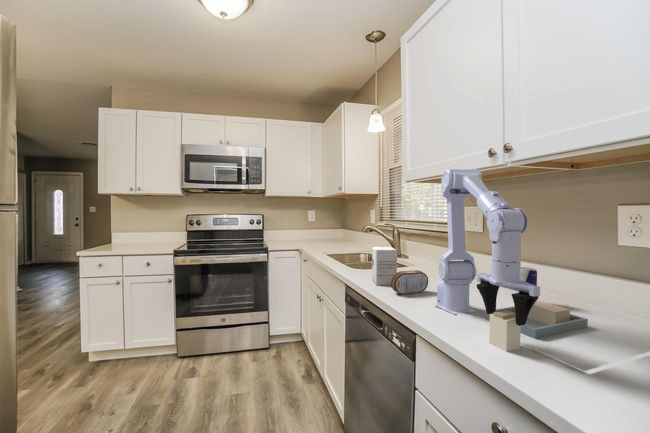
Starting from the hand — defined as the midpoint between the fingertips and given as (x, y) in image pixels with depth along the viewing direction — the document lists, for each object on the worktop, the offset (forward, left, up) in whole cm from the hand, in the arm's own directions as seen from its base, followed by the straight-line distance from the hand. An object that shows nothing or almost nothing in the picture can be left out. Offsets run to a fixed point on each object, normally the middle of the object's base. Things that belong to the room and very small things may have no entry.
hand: (505, 318), depth 70 cm
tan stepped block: (-6, +24, -6) cm, 25 cm away
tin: (-44, +6, -7) cm, 45 cm away
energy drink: (-19, +34, -7) cm, 40 cm away
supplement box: (-61, +5, -7) cm, 62 cm away
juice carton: (0, 0, -6) cm, 6 cm away
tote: (-6, +19, -6) cm, 21 cm away
